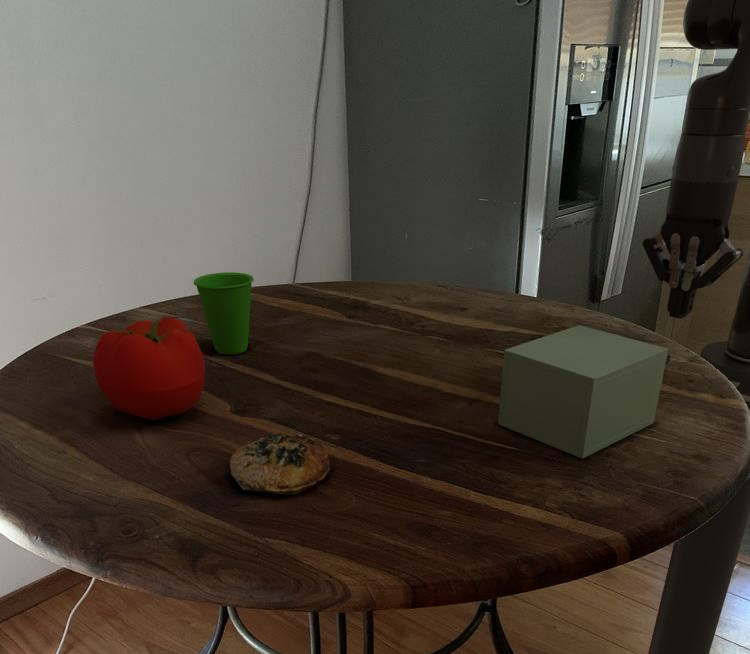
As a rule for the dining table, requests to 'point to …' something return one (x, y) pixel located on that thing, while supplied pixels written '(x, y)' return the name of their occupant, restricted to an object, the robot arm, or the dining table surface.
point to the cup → (226, 309)
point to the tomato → (150, 368)
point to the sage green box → (580, 388)
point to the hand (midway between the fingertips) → (678, 316)
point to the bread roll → (280, 464)
